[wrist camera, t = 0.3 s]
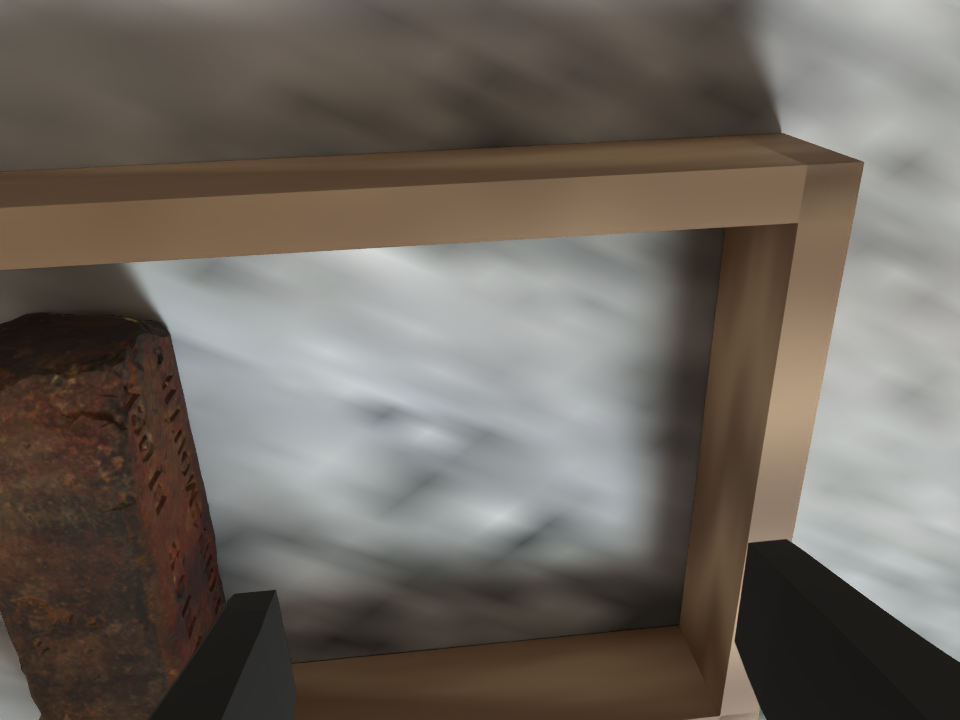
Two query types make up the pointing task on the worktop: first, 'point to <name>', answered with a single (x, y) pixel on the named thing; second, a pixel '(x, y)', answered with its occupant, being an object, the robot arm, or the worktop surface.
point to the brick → (100, 515)
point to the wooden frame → (528, 215)
